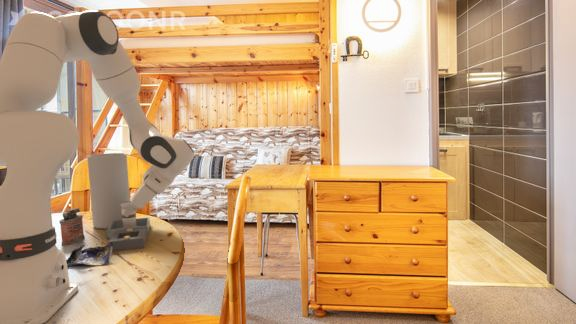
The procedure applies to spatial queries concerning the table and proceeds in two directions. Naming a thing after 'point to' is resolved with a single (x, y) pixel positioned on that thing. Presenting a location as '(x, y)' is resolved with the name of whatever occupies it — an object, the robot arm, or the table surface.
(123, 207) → the ball
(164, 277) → the table surface
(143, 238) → the block
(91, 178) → the cylinder vase
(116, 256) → the table surface
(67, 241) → the lighter
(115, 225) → the tray
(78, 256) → the snack package
